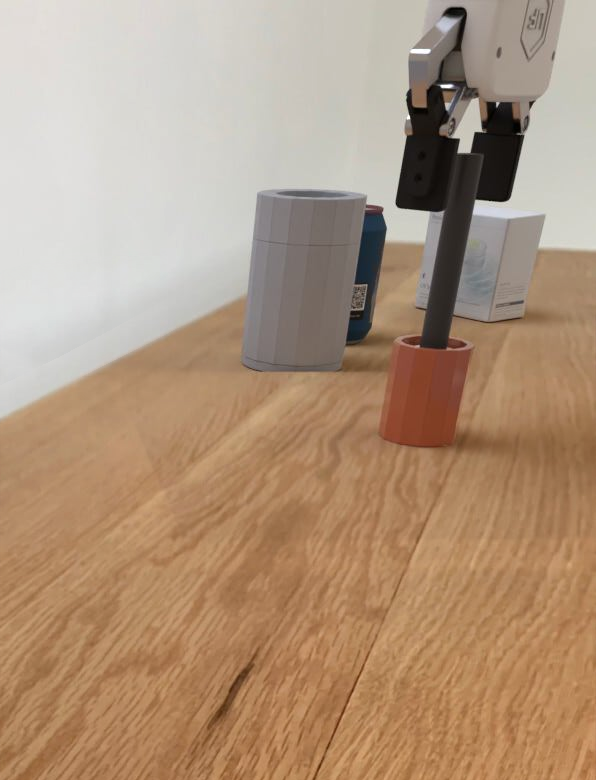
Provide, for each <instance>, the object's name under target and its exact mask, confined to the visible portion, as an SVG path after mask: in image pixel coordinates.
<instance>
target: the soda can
mask: <svg viewBox="0 0 596 780" xmlns="http://www.w3.org/2000/svg"><path fill="white" fill-rule="evenodd" d="M384 208H385V207H384V206H381V205H375V204H367V203H366V208H365V215H364V222H363V229H362V235H361V240H360V241H361V242H360V249H359V256H358V263H357V269H356V276H355V283H354V290H353V297H352V303H351V310H350V317H349V324H348V331H347V338H346V344H345V345H355V344H360V343H361V342H363V340H364V339H365V338H366V336H367V335H368V334H369V332H370V331H371V329H372V327H373V321H374V314H375V307H376V302H377V295H378V289H379V284H380V283H379V282H380V276H381V269H382V263H383V257H384V250H385V245H386V244H385V243H386V238H387V231H388V227H387V223H386V220H385V216H384V210H385V209H384ZM359 342H360V343H359Z"/></svg>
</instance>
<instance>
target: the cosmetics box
mask: <svg viewBox="0 0 596 780" xmlns="http://www.w3.org/2000/svg"><path fill="white" fill-rule="evenodd" d="M443 214H444V211H442V212H429V214H428V215H429V216H428V222H427V228H426V235H425V240H424V246H423V253H422V257H421V258H422V259H421V264H420V269H419V276H418V282H417V287H416V295H415V298H414V299H415V300H414V307H415V308H420V309H424V310H426V308H427V303H428V297H429V292H430V286H431V280H432V275H433V269H434V264H435V258H436V253H437V247H438V242H439V236H440V231H441V225H442V219H443ZM546 216H547V214H546V213H544V212H538V211H529V210H522V209H514V208H506V207H499V206H490V205H481V204H475V205H474V210H473V215H472V220H471V225H470V230H469V236H468V241H467V246H466V251H465V256H464V262H463V267H462V272H461V277H460V282H459V288H458V293H457V298H456V303H455V308H454V313H453V316H456V317H461V318H465V319H468V320H469V319H470V320H474V321H479V322H485V323H493V322H498V321H505V320H511V319H518V318H519V319H520V318H524V316H525V311H526V305H527V301H528V296H529V293H530V286H531V283H532V277H533V273H534V268H535V264H536V261H537V260H536V259H537V255H538V251H539V246H540V243H541V242H540V241H541V237H542V233H543V228H544V224H545V221H546Z"/></svg>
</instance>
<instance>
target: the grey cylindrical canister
mask: <svg viewBox="0 0 596 780" xmlns="http://www.w3.org/2000/svg"><path fill="white" fill-rule="evenodd" d="M367 201H368V195H367V194H364V193H361V192H357V191H349V190H348V191H346V190H336V189H318V188H317V189H316V188H277V189H274V188H273V189H265V190H260V191H258V192H257V195H256V203H255V211H254V212H255V214H254V222H253V233H252V242H251V253H250V262H249V263H250V264H249V273H248V284H247V293H246V301H245V302H246V303H245V311H244V322H243V332H242V342H241V364H242V365H243V366H245V367H247V368H249V369H252V370H255V371H259V372H264V373H282V372H283V373H286V372H287V373H289V372H290V373H293V372H295V373H311V372H313V373H314V372H315V373H316V372H317V373H320V372H321V373H322V372H325V373H326V372H327V373H328V372H329V373H330V372H331V373H333V372H334V373H335V372H338V371H339V370H341V369H342V366H343V359H344V357H345V352H346V351H345V350H346V345H347V344H346V338H347V331H348V324H349V317H350V310H351V303H352V297H353V290H354V283H355V276H356V269H357V263H358V256H359V249H360V242H361V241H360V240H361V235H362V229H363V222H364V215H365V208H366V204H367Z"/></svg>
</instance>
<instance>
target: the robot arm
mask: <svg viewBox="0 0 596 780" xmlns="http://www.w3.org/2000/svg"><path fill="white" fill-rule="evenodd" d="M565 6H566V0H427V5H426V9H425V16H424V20H423V25H422V29H421V35H420V40H419V41H418V42H416V44H415V45H413V47H412V48H411V50H410V52H409V55H408V61H407V65H408V90H407V92H406V94H405V96H406V98H405V102H406V107H407V111H408V115H407V117H406V119H405V123H404V135H405V136H406V137H405V144H404V149H403V155H402V160H401V165H400V172H399V178H398V182H397V183H398V184H397V188H396V194H395V196H396V197H395V202H394V203H395V206H396V207H397V208H398V209H400V210H401V209H402V210H410V211H420V212H429V213H430V212H442V211H444V210H445V209H446V207H447V204H448V199H449V194H450V189H451V183H452V178H453V173H454V168H455V163H456V158H457V153H459V148H460V143H461V138H459V137H454V135H455V133H456V131H457V129H458V127H459V125H460V123H461V122H462V120H463V117H464V115H465V114H466V111H467V110H468V107H469V105H470V104H471V101H472V100H474V99H478V109H479V118H480V127H481V131H474V133H473V137H472V143H471V149H470V152H469V153H480V154H484V158H483V163H482V168H481V173H480V179H479V184H478V189H477V194H476V199H475V201H483V202H493V203H506V202H508V201H510V199H511V198H512V194H513V189H514V185H515V180H516V176H517V172H518V168H519V164H520V163H519V162H520V158H521V154H522V149H523V145H524V141H525V136H526V133H527V132H528V129H529V127H530V122H531V109H532V107H533V105H534V103H535V102H537V100H539V98H541V97H542V96H543V95H545V93H546V92H547V90H548V89H549V87H550V82H551V78H552V73H553V68H554V63H555V59H556V53H557V47H558V42H559V38H560V32H561V27H562V21H563V16H564V11H565ZM497 103H498V105H497ZM446 104H449V105H448V106H447V107H446Z"/></svg>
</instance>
